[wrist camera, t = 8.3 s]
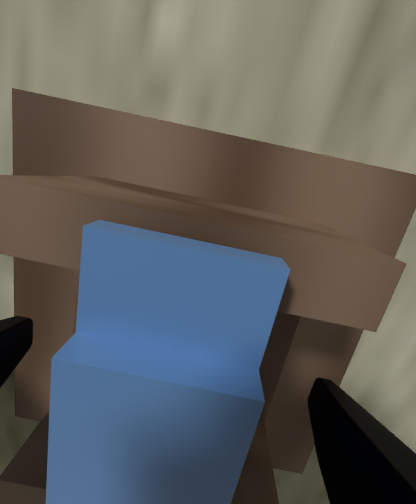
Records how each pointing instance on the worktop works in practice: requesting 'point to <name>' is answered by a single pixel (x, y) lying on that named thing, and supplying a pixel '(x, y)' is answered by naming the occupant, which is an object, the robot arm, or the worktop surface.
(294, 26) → the worktop surface
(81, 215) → the cradle
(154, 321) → the block
